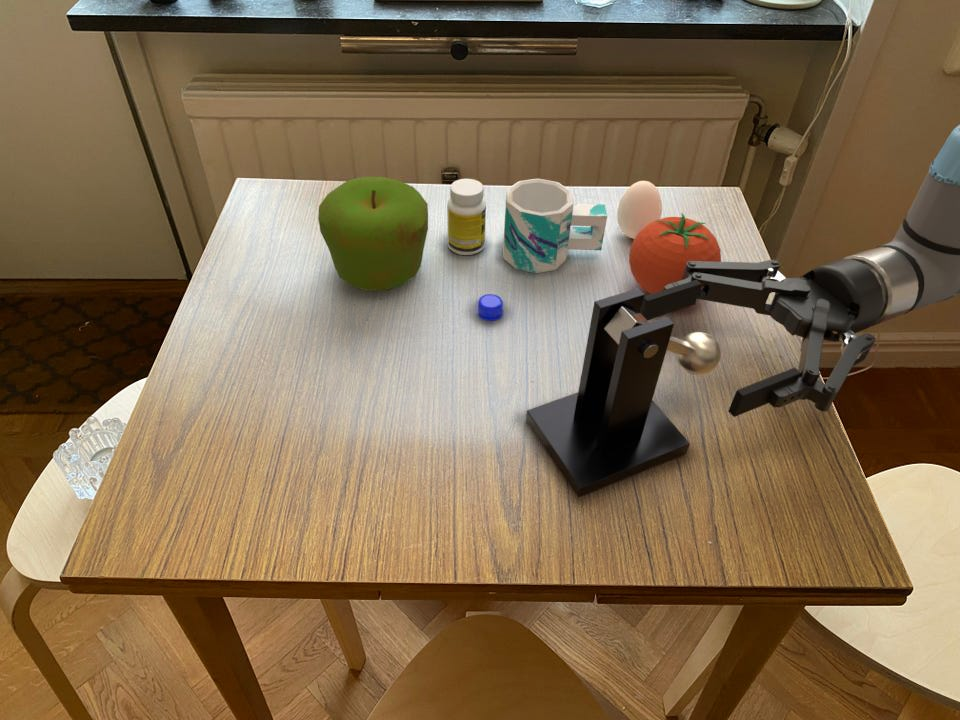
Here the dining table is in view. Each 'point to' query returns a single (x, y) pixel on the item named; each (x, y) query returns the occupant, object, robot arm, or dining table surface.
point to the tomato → (670, 251)
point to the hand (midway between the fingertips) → (685, 353)
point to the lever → (673, 343)
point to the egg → (638, 208)
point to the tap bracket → (612, 405)
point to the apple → (374, 231)
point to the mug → (548, 225)
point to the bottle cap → (490, 307)
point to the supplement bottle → (466, 217)
